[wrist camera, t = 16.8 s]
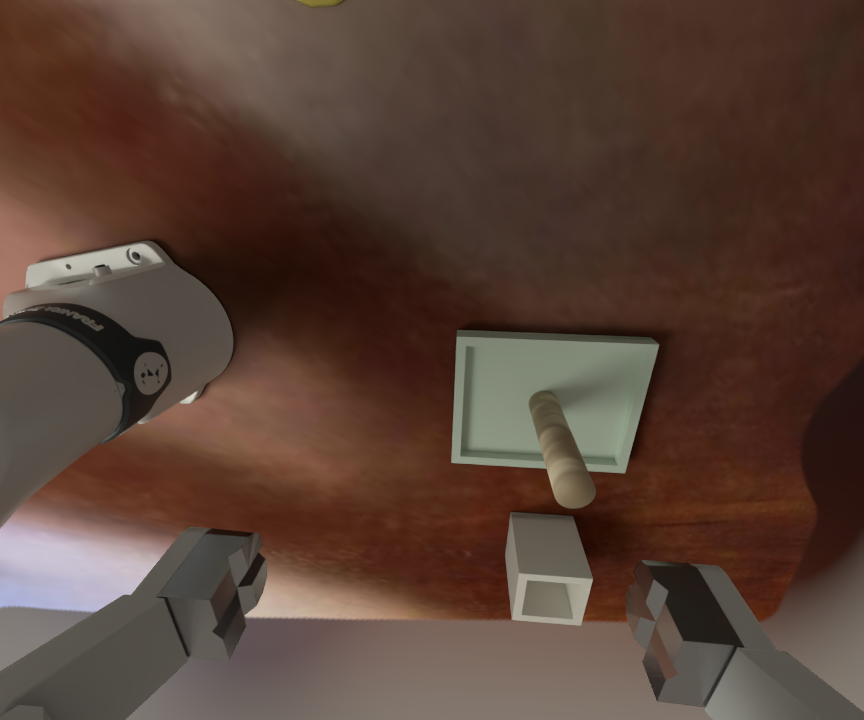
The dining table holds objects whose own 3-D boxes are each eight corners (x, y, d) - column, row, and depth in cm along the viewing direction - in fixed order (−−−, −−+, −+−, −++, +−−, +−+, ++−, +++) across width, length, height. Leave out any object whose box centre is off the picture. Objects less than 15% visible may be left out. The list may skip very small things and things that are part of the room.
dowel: (526, 414, 45) (551, 507, 33) (530, 390, 44) (557, 476, 31) (555, 416, 45) (592, 509, 32) (559, 391, 44) (599, 478, 31)
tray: (451, 452, 49) (451, 462, 47) (457, 329, 43) (456, 336, 41) (618, 462, 48) (624, 473, 46) (650, 337, 41) (659, 344, 40)
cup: (505, 555, 56) (512, 619, 48) (510, 511, 52) (519, 573, 44) (563, 559, 55) (580, 625, 47) (572, 516, 52) (592, 579, 44)
